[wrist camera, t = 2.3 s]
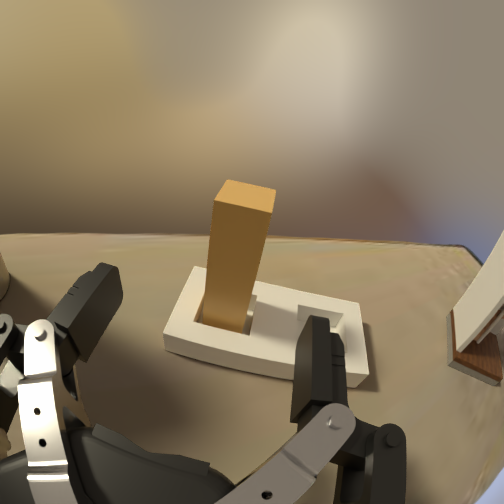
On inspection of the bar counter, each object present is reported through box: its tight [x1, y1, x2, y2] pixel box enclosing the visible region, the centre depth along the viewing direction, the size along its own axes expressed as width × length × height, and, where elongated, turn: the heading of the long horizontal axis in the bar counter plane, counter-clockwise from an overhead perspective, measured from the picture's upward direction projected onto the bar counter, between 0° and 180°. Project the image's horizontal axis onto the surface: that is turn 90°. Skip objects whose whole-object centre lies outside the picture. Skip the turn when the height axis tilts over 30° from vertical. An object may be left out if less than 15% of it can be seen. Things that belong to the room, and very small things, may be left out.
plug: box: [202, 180, 276, 334], centre depth 24 cm, size 4×4×15 cm
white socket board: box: [163, 266, 369, 388], centre depth 28 cm, size 20×10×3 cm, turn 81°
